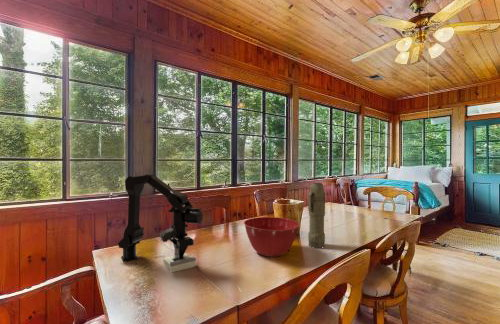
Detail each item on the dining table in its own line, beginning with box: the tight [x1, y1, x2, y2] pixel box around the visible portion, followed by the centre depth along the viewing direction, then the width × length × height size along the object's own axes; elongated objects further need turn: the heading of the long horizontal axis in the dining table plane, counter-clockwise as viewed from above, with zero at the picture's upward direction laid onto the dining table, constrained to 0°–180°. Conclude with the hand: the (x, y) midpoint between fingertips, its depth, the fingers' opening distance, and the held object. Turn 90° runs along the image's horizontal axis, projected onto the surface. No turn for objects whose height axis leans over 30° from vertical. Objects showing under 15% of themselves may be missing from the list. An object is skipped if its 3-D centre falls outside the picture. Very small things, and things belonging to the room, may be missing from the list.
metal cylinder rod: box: [173, 243, 184, 261], centre depth 116 cm, size 4×4×7 cm
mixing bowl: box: [243, 216, 300, 258], centre depth 133 cm, size 28×28×16 cm
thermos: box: [307, 182, 326, 249], centre depth 143 cm, size 9×12×35 cm
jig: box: [162, 252, 197, 273], centre depth 116 cm, size 11×11×4 cm
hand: (179, 256), depth 116 cm, fingers closed on metal cylinder rod, 4 cm apart
